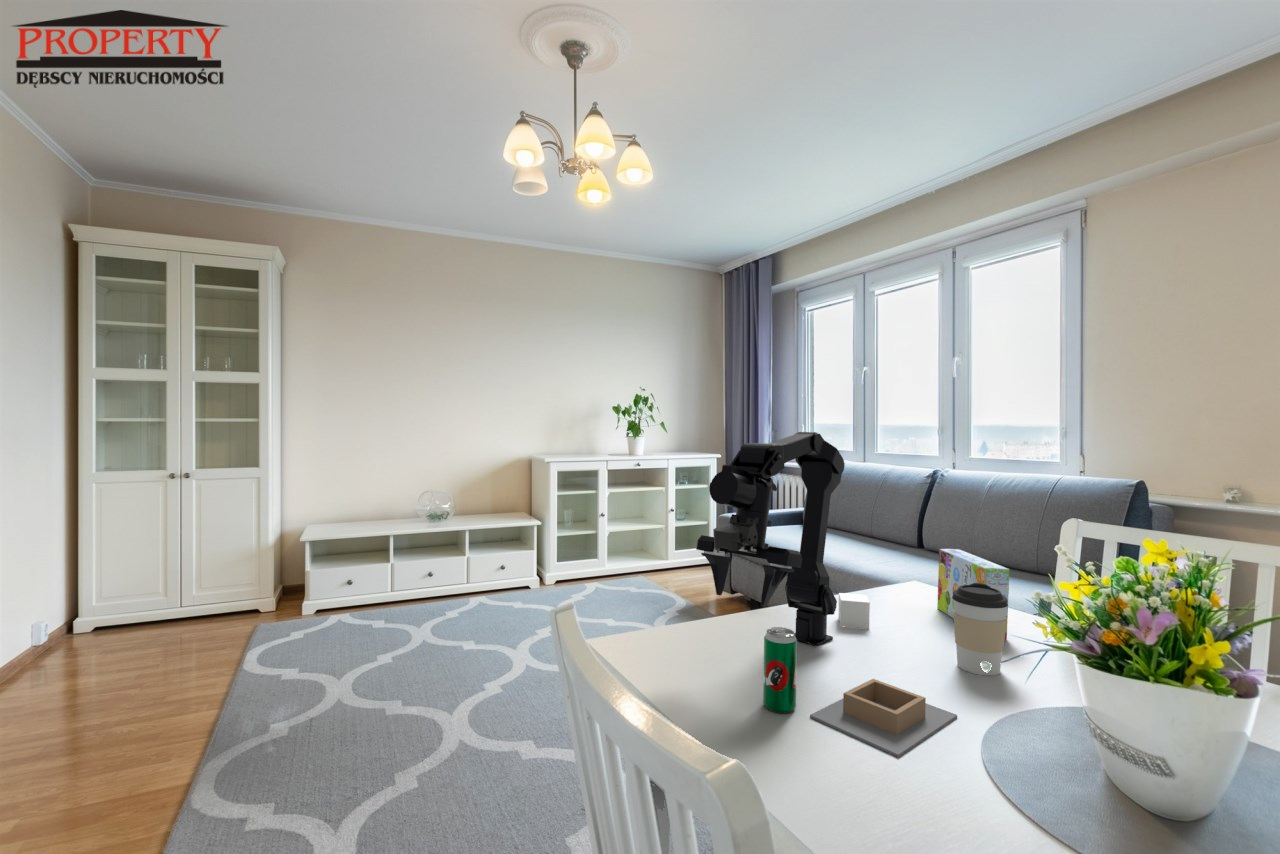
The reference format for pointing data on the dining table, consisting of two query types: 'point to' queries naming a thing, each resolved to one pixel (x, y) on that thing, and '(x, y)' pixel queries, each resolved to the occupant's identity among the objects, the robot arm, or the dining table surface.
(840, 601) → the white cube
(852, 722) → the can holder
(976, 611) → the coffee cup
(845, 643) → the dining table surface
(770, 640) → the soda can
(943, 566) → the snack box
